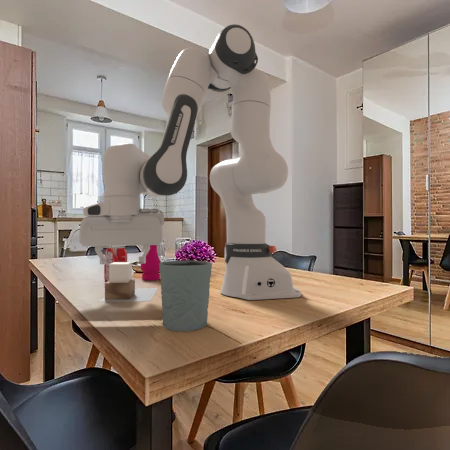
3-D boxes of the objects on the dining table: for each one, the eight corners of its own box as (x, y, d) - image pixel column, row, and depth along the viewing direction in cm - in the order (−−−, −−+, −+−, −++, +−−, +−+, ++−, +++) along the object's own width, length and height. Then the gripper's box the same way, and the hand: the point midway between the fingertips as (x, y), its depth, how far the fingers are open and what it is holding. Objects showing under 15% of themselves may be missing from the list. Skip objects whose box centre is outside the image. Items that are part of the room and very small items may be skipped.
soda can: (99, 284, 103) (99, 247, 103) (114, 281, 110) (114, 245, 110) (117, 286, 101) (117, 247, 101) (131, 282, 107) (132, 246, 107)
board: (157, 291, 94) (157, 288, 94) (149, 305, 78) (149, 301, 78) (115, 291, 92) (115, 288, 92) (98, 305, 77) (98, 301, 77)
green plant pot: (154, 332, 58) (155, 265, 58) (162, 316, 68) (163, 259, 68) (211, 332, 59) (212, 265, 59) (211, 316, 69) (211, 259, 69)
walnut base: (134, 294, 85) (134, 278, 85) (130, 299, 79) (130, 283, 79) (111, 294, 85) (111, 279, 85) (104, 299, 79) (104, 283, 79)
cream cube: (131, 279, 84) (131, 262, 84) (127, 282, 80) (128, 264, 80) (113, 279, 84) (114, 262, 84) (109, 282, 79) (109, 264, 79)
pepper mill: (137, 280, 112) (137, 222, 112) (145, 277, 119) (146, 222, 119) (156, 281, 111) (157, 222, 111) (164, 277, 118) (164, 222, 118)
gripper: (165, 208, 86) (166, 261, 86) (85, 209, 84) (86, 263, 84) (162, 208, 80) (163, 264, 80) (76, 208, 78) (77, 266, 78)
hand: (123, 263), depth 82 cm, fingers open, 8 cm apart
